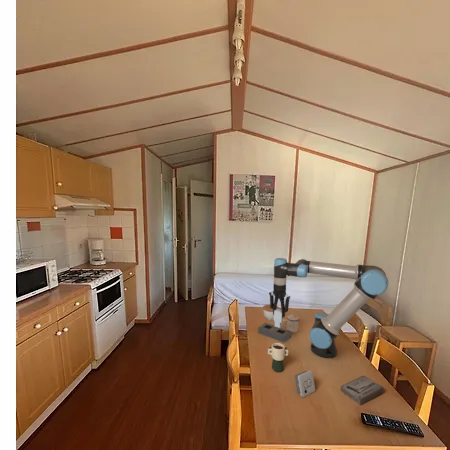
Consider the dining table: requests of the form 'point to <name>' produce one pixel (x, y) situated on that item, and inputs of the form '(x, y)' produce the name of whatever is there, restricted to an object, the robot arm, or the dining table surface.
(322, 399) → the dining table surface
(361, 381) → the box
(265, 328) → the battery charging station
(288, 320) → the teacup with lid
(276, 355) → the character mug
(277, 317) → the plug
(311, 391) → the electrical switch
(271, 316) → the lidded bowl
